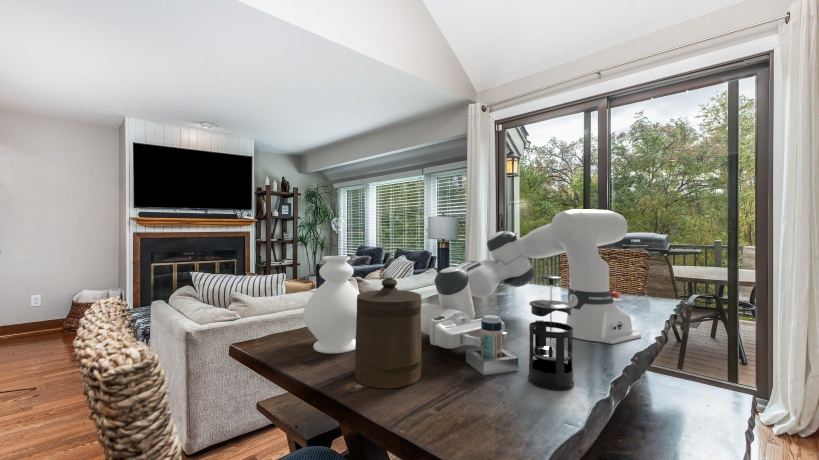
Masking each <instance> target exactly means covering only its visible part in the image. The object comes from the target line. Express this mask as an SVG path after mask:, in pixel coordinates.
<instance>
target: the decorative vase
mask: <svg viewBox="0 0 819 460" xmlns="http://www.w3.org/2000/svg"><path fill="white" fill-rule="evenodd" d="M322 260H323V261H324V262H325V263H324V264H323V265H322V266H321V267H320V268H319V269H318V270H319V276H320V277H321V278H322V279H323V280H325V281H323V283H322V284H320V286H319V287H317V289H316V290H315V291H314V292H313V293H312V294H311V296H310V298H309V299H308V301H307V302H306V304H305V307H304V309H303V310H304V311H303V322H304V324H305V325H306V327H307V329H308V330H309V331H310V332H311V333H312V335H313V336H314V337H315V338H316V339H317V341H315V342H314V343H313V349H314V351H316V352H319V353H323V354H342V353H347V352H352V351H354V350H355V346H356V317H357V295H358V294H360V293H361V292H360V291H359V290H358V289H357V288H356V287H355V286H354V285H353V284H352V283H351V282H350V281H349V280H350V278H351V277H353V275H354V268H353V266H352V265H350V263H348V261H350V260H351V256H349V255H326V256H322Z"/></svg>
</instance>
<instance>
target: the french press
mask: <svg viewBox="0 0 819 460" xmlns="http://www.w3.org/2000/svg"><path fill="white" fill-rule="evenodd" d="M540 278H541V279H545V280H548V285H549V286H550V287H549V288H550V290H549V291H550V292H549V294H550V296H549V297H550V299H539V300H538V299H537V300H536V299H535V300H532V301H529V305H530V306H531V311H530V312H531V314H532V315H534V316H537V317H546V316H548V315H549V321H548V320H547V321H546V320H545V321H544V320H542V319H541V320H537V319H536V320H535V321H533V322H530V323H529V324H528V331H529V339H528V340H529V344H528V345H529V351H528V352H529V353H528V354H529V358H528V360H529V361H528V375H527V380H528V382H529V383H530V384H531V385H533V386H535V387H537V388H540V389H544V390H547V391H555V392H557V391H558V392H561V391H562V392H564V391H569V390H572V389H573V388H574V387H575V381H574V368H573V337H572V336H573V327H571V326H569V325H567V324H566V323H561V322H557V321H552V320H553V312H561V313H565V314H568V315H569V316H571V309H573V307H574V306H573V305H572V304H570V303H569V302H565V301H560V300H553V286H554V280H561V279H562V277H561V276H558V275H549V274H547V275H542V276H540ZM547 328H549V331H548V330H547ZM553 329H559V330H563V331H552V330H553ZM564 330H566V331H568V332H564ZM547 339H549V345H547ZM553 339H555V346H553V343H552V340H553ZM565 339H567V349H566V348H565ZM534 358H535V359H534ZM566 361H567V363H566Z"/></svg>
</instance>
